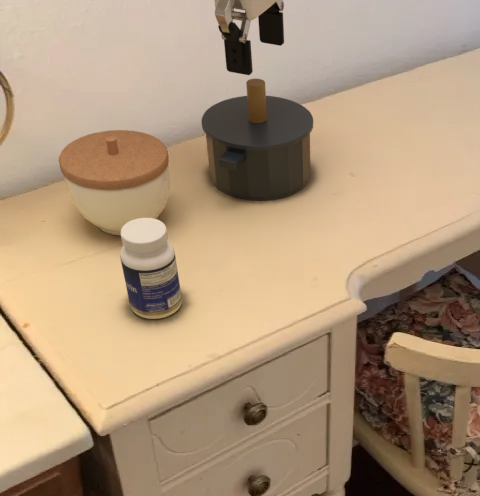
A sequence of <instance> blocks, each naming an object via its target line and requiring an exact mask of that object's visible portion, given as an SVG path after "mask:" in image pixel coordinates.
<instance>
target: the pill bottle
mask: <svg viewBox="0 0 480 496" xmlns="http://www.w3.org/2000/svg"><path fill="white" fill-rule="evenodd" d="M120 239H121V243H122V247H121V250H120V253H119V256H120V262H121V268H122V272H123V278H124V283H125V287H126V292H127V297H128V302H129V307H130V309H131V310H132V312H134V314H135V315H137V316H139V317H140V318H145V319H148V320H149V319H150V320H157V319H163V318H167V317H170V316H171V315H173V314H175V313H176V312H177V311H178V310H179V309H180V307H181V305H182V303H183V302H182V301H183V295H182V291H181V284H180V278H179V277H180V276H179V272H178V265H177V257H176V251H175V247H174V246H173V244H172V243H171V242H170V241H169V240H168V239H169V235H168V231H167V226H166V224H165V223H164V222H163V221H162V220H159V219H158V218H156V219H153V218H138V219H134V220H132V221H129V222H128V223H126V224H125V225H124V226H123V227H122V229H121V235H120Z"/></svg>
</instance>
